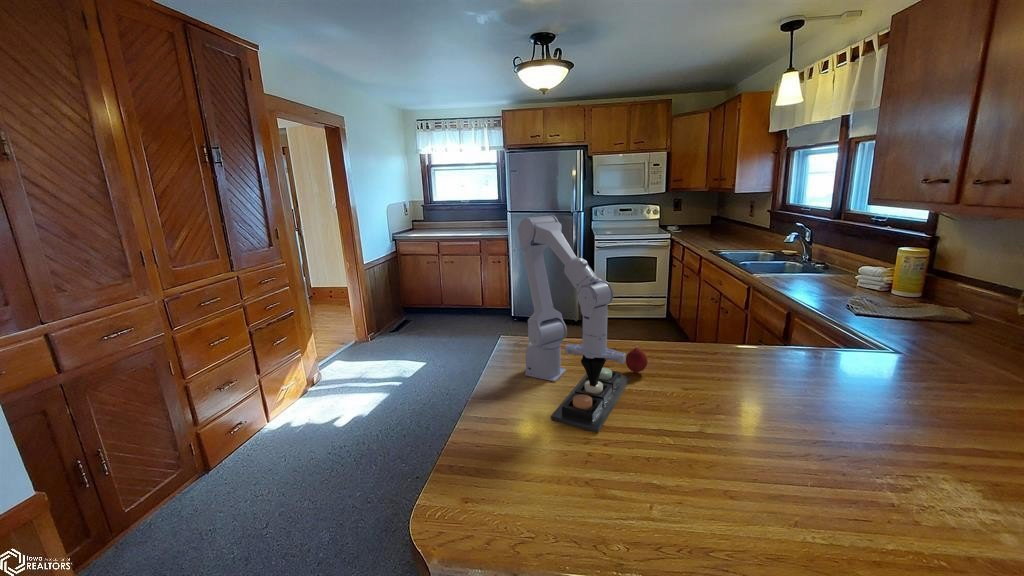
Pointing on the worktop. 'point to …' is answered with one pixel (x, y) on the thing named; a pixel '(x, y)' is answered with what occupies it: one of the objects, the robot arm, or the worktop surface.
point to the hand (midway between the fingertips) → (593, 384)
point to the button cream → (594, 388)
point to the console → (600, 404)
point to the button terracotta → (582, 402)
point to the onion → (636, 360)
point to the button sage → (606, 374)
